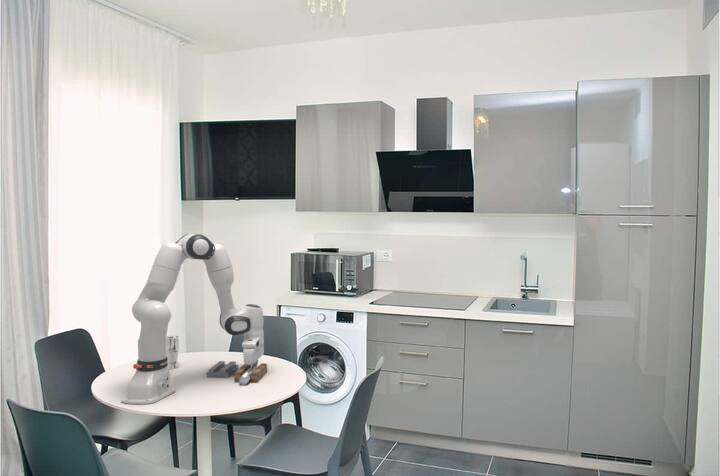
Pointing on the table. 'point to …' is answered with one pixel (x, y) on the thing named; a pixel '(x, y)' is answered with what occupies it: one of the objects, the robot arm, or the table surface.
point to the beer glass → (172, 351)
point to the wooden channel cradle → (255, 375)
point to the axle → (246, 376)
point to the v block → (222, 370)
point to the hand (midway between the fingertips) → (254, 369)
